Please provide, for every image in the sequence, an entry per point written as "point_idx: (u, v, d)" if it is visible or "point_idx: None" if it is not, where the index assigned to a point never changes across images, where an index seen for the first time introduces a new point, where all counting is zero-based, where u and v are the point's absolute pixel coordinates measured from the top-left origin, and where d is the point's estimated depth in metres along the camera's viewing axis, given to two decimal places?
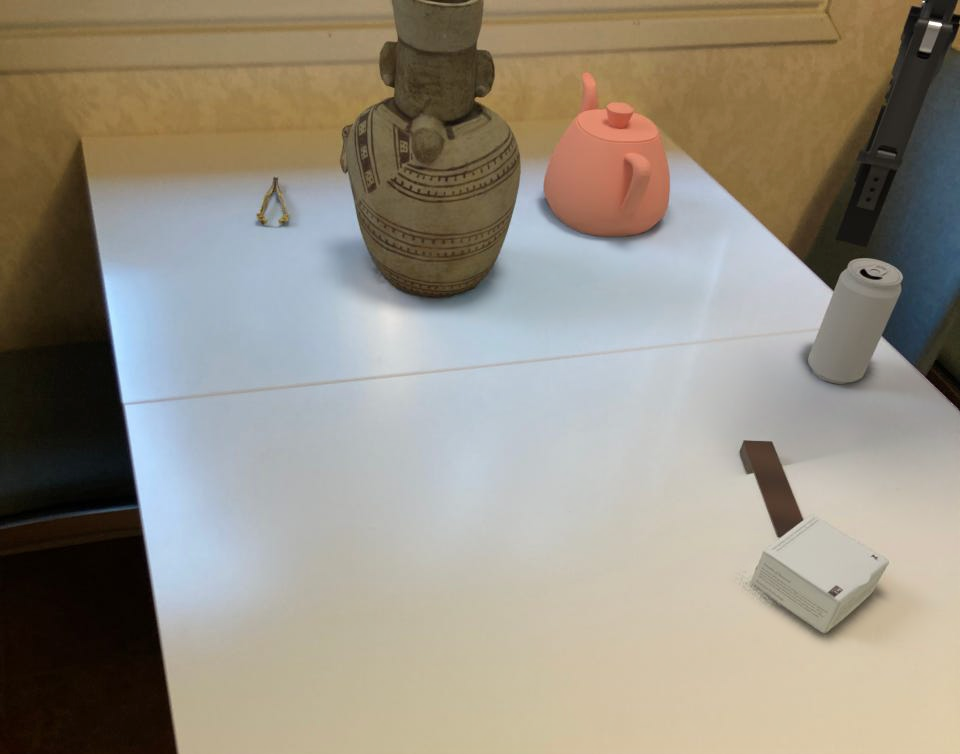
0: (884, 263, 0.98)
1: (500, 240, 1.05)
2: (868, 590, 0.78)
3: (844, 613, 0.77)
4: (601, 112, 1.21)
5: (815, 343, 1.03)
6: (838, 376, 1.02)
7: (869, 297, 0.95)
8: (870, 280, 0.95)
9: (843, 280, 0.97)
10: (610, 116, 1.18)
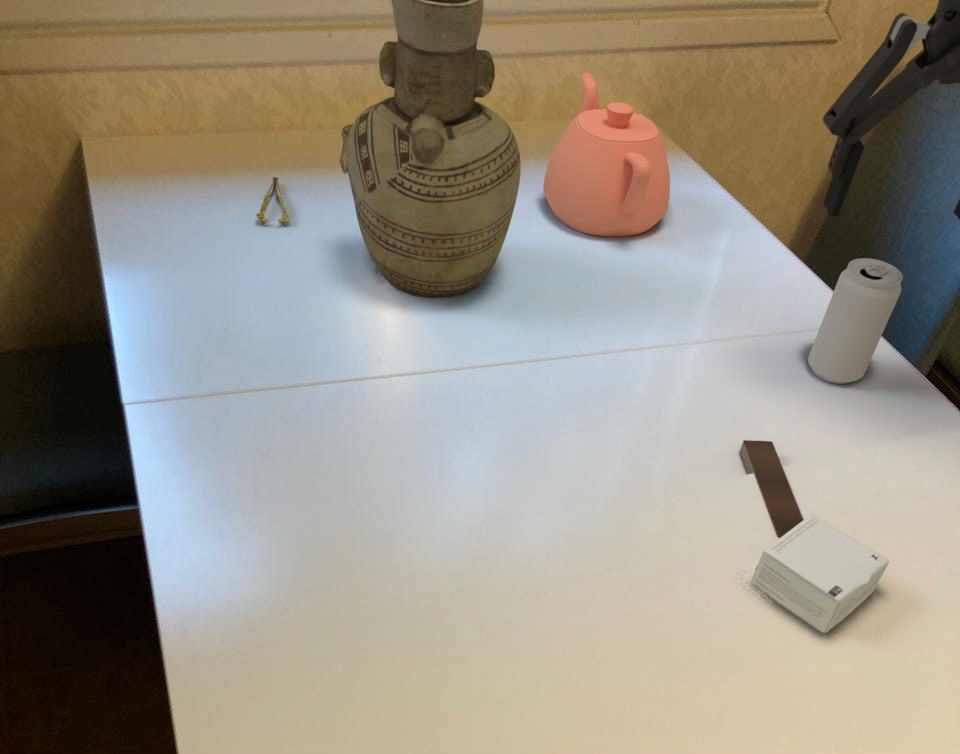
0: (884, 263, 0.98)
1: (500, 240, 1.05)
2: (868, 590, 0.78)
3: (844, 613, 0.77)
4: (601, 112, 1.21)
5: (815, 343, 1.03)
6: (838, 376, 1.02)
7: (869, 297, 0.95)
8: (870, 280, 0.95)
9: (843, 280, 0.97)
10: (609, 116, 1.18)
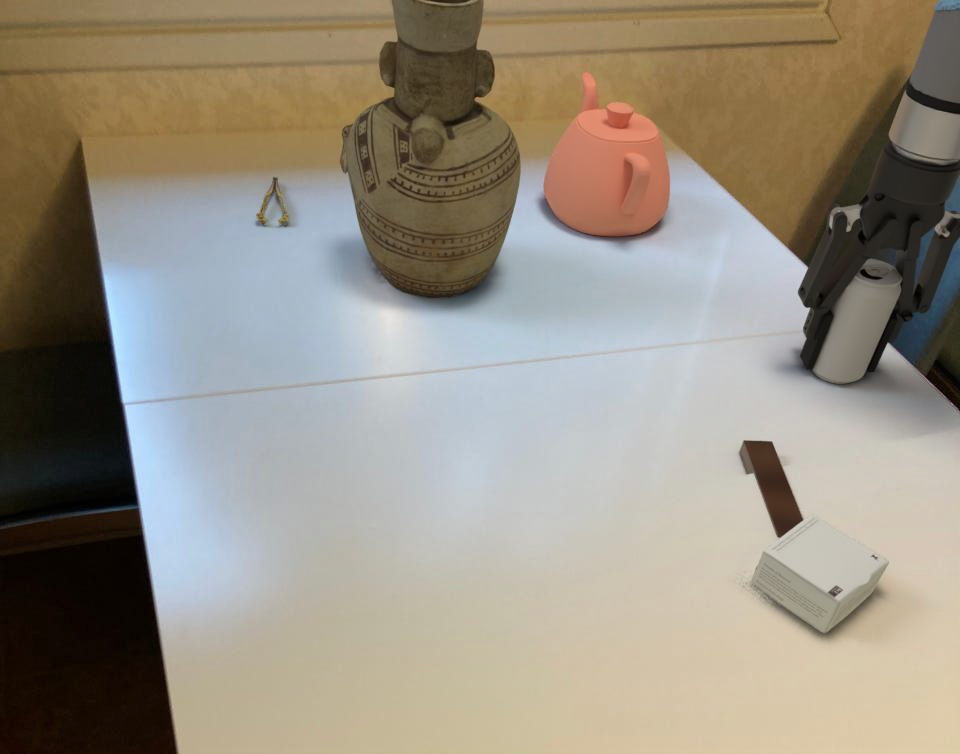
0: (884, 263, 0.98)
1: (500, 240, 1.05)
2: (868, 590, 0.78)
3: (844, 613, 0.77)
4: (601, 112, 1.21)
5: None
6: (838, 376, 1.02)
7: (869, 297, 0.95)
8: (870, 280, 0.95)
9: None
10: (609, 116, 1.18)
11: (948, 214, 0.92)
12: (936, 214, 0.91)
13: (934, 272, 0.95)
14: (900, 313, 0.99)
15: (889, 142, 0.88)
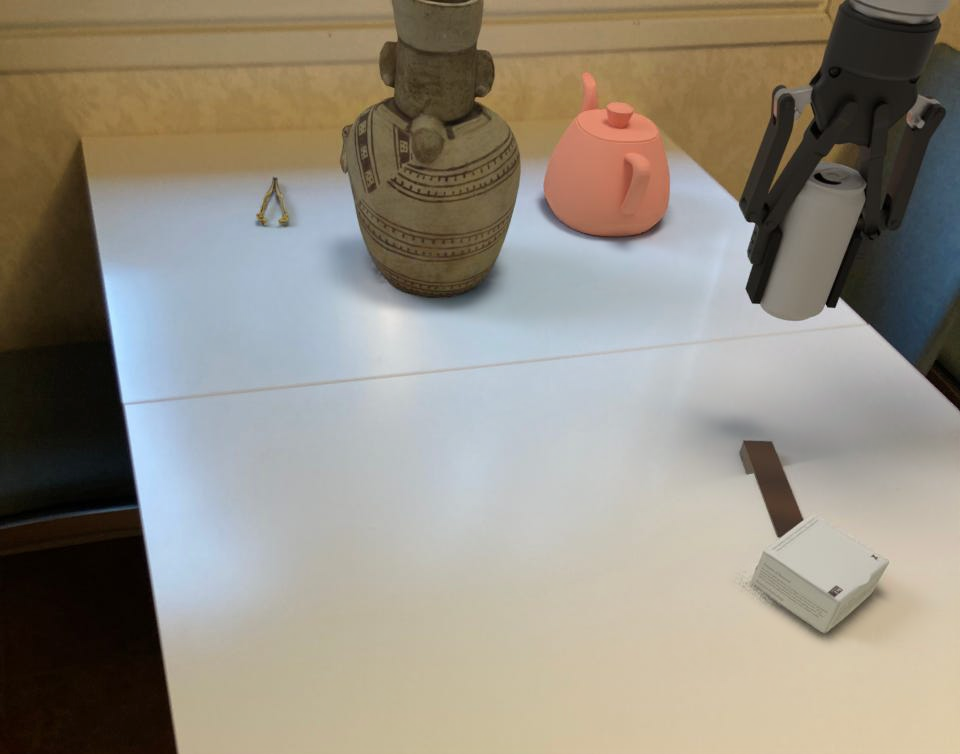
0: (845, 167, 0.79)
1: (500, 240, 1.05)
2: (868, 590, 0.78)
3: (844, 613, 0.77)
4: (601, 112, 1.21)
5: None
6: (791, 311, 0.83)
7: (824, 206, 0.76)
8: (826, 185, 0.76)
9: None
10: (609, 116, 1.18)
11: (922, 98, 0.73)
12: (907, 97, 0.72)
13: (906, 176, 0.77)
14: (865, 230, 0.80)
15: (846, 0, 0.69)
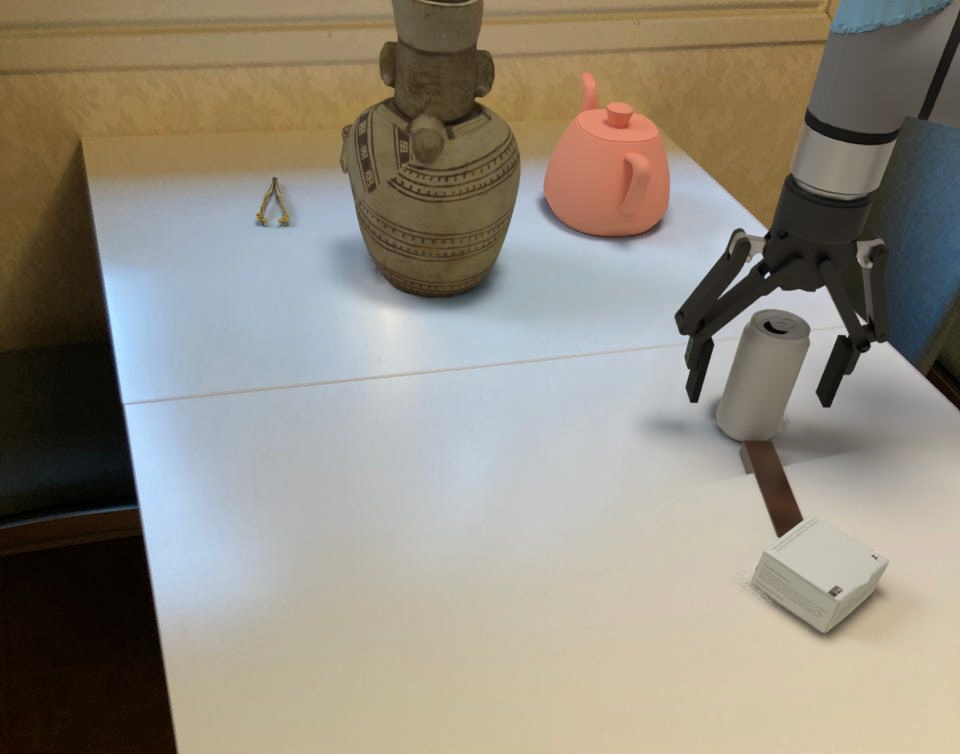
0: (792, 314, 0.89)
1: (500, 240, 1.05)
2: (868, 590, 0.78)
3: (844, 613, 0.77)
4: (601, 112, 1.21)
5: (722, 399, 0.94)
6: (747, 435, 0.94)
7: (772, 353, 0.87)
8: (774, 335, 0.86)
9: (746, 334, 0.88)
10: (609, 116, 1.18)
11: (863, 245, 0.82)
12: (846, 252, 0.81)
13: (875, 303, 0.85)
14: (856, 345, 0.88)
15: (791, 173, 0.79)
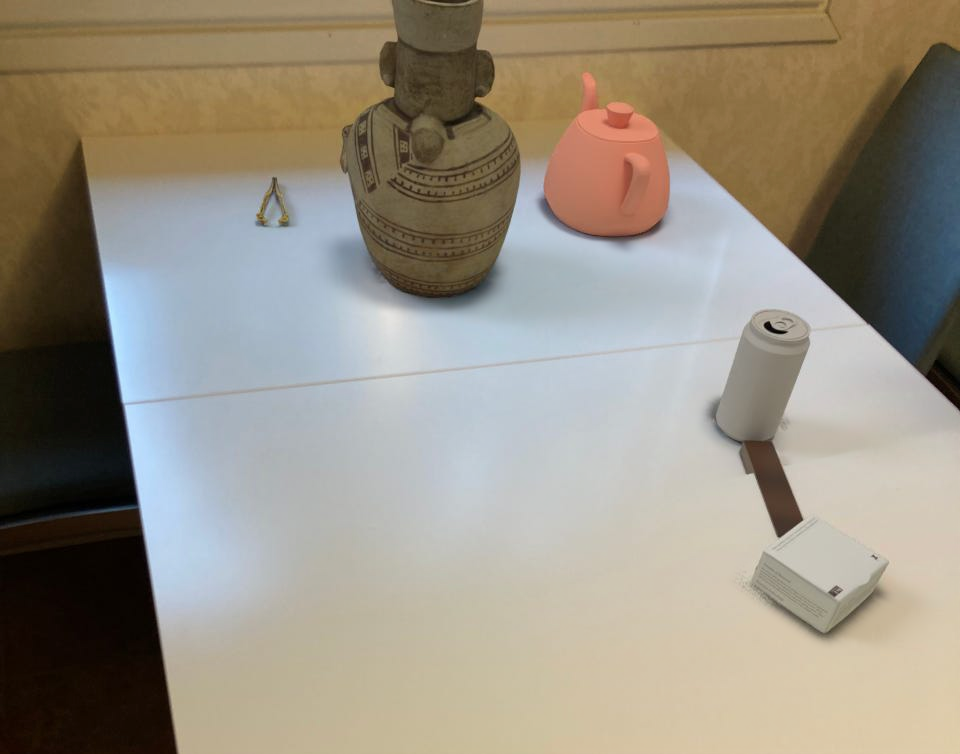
0: (792, 314, 0.89)
1: (500, 240, 1.05)
2: (868, 590, 0.78)
3: (844, 613, 0.77)
4: (601, 112, 1.21)
5: (722, 399, 0.94)
6: (747, 435, 0.94)
7: (772, 353, 0.87)
8: (774, 335, 0.86)
9: (746, 334, 0.88)
10: (609, 116, 1.18)
11: None
12: None
13: None
14: None
15: None
